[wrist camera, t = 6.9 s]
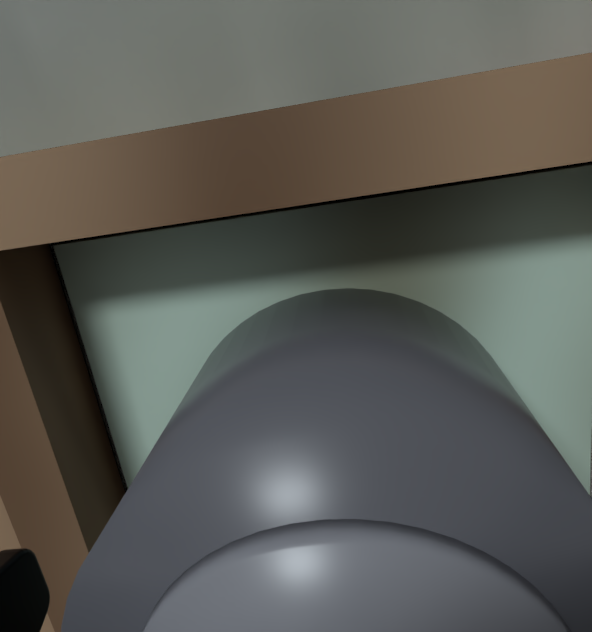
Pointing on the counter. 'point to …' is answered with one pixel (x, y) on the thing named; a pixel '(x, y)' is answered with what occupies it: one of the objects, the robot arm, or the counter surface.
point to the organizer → (281, 267)
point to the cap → (345, 489)
